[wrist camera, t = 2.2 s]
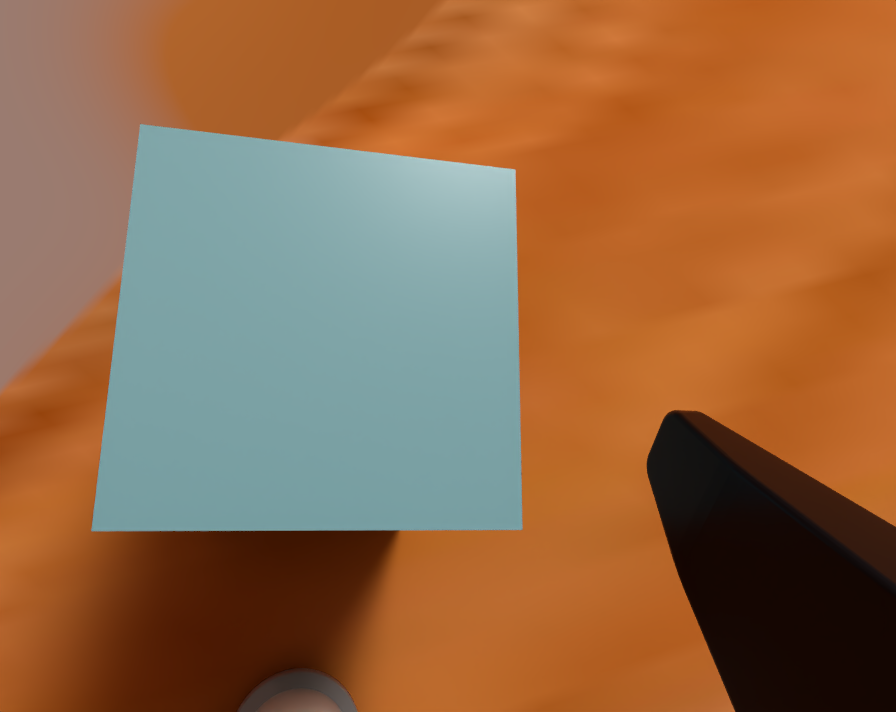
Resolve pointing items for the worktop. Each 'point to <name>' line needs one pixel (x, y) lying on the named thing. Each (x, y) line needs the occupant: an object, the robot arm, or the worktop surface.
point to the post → (299, 693)
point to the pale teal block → (312, 342)
